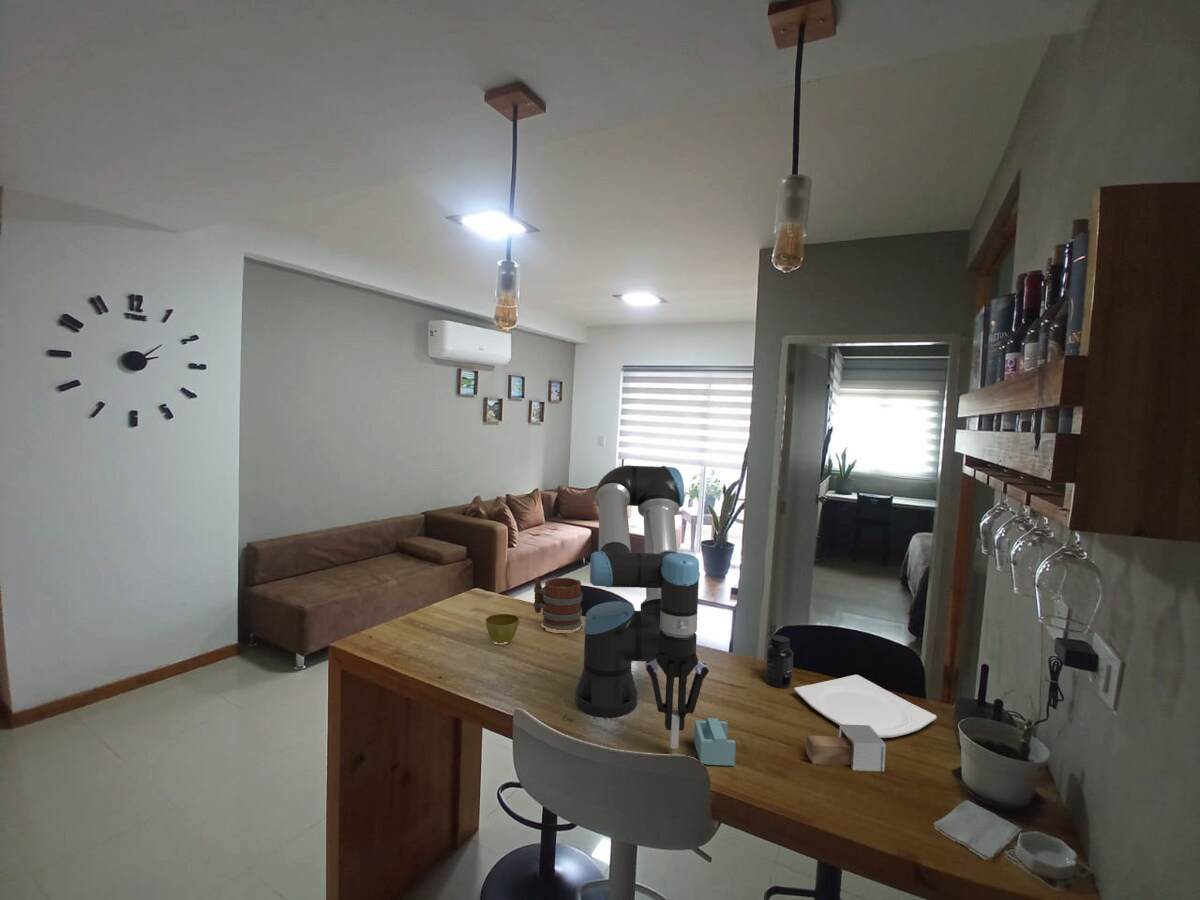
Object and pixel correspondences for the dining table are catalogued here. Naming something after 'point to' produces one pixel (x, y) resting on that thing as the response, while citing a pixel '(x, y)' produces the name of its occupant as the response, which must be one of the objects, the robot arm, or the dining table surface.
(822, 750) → the batten
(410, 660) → the dining table surface
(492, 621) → the flower pot
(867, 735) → the end cap
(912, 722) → the plate
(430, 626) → the dining table surface
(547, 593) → the mug
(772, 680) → the supplement bottle
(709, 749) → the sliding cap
